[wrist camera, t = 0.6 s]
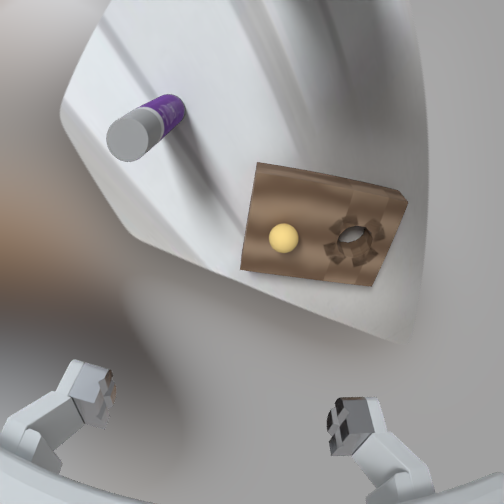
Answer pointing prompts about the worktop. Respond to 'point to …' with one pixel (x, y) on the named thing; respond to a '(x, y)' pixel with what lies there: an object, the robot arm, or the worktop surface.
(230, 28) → the worktop surface
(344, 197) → the board
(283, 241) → the ball
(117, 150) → the container
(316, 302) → the worktop surface
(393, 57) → the worktop surface
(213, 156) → the worktop surface
